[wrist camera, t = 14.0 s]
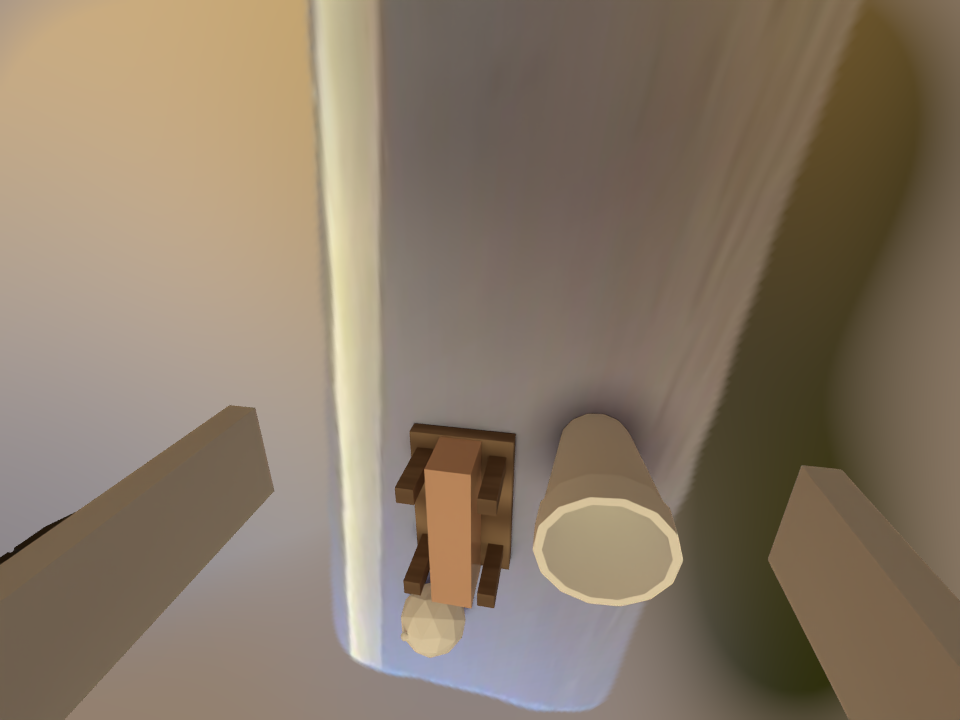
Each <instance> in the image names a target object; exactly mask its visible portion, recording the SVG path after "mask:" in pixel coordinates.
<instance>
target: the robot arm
mask: <svg viewBox="0 0 960 720" xmlns="http://www.w3.org/2000/svg"><path fill="white" fill-rule="evenodd" d="M273 492H274V488H273V483H272V479H271V475H270V470H269V466H268V462H267V457H266V453H265V449H264V444H263V440H262V435H261V431H260V427H259V422H258V418H257V414H256V409H255V408H250V407H241V406H231V405H230V406H228V407H226V408H225V409H223V410H222V411H221V412H219V413H218V414H216V415H215V416H214V417H212V418H211V419H209V420H208V421H206V422H205V423H203V424H202V425H200V426H199V427H198V428H196V429H195V430H193V431H192V432H190V433H189V434H188V435H186V436H185V437H183V438H182V439H181V440H179V441H177V442H176V443H175V444H173V445H172V446H170V447H169V448H167V449H166V450H165V451H163V452H162V453H160V454H159V455H157V456H156V457H155V458H153V459H152V460H150V461H149V462H147V463H146V464H144V465H143V466H142V467H140V468H139V469H137V470H136V471H134V472H133V473H132V474H130V475H129V476H127V477H126V478H124V479H123V480H121V481H120V482H119V483H117V484H116V485H114V486H113V487H111V488H110V489H109V490H107V491H106V492H104V493H103V494H101V495H100V496H98V497H97V498H96V499H94V500H93V501H91V502H90V503H89V504H87V505H85V506H84V507H83V508H81V509H80V510H78V511H77V512H75V513H73V514H70V515H69V516H67V517H64V518H63V519H60V520H58V521H56V522H54V523H52V524H50V525H48V526H46V527H44V528H43V529H41V530H40V531H38V532H37V533H35V534H34V535H33V536H31V537H29V538H28V539H27V540H25V541H24V542H22V543H21V544H19V545H18V546H16V547H15V548H14V551H13V552H11V553H9V552H7V553H6V554H5V555H3V556H2V557H0V720H65V718H66V717H67V716H68V715H69V714H70V713H71V712H72V711H73V710H74V709H75V708H76V706H77V705H78V704H79V703H80V702H81V701H82V700H83V699H84V698H85V697H86V696H87V694H88V693H89V692H90V691H91V690H92V689H93V688H94V687H95V686H96V685H97V683H98V682H99V681H100V680H101V679H102V678H103V677H104V676H105V675H106V674H107V673H108V671H109V670H110V669H111V668H112V667H113V666H114V665H115V664H116V663H117V662H118V661H119V660H120V658H121V657H122V656H123V655H124V654H125V653H126V652H127V650H129V649H130V647H131V646H132V645H133V644H134V643H135V642H136V641H137V640H138V639H139V638H140V637H141V636H142V634H143V633H144V632H145V631H146V630H147V629H148V628H149V627H150V626H151V625H152V624H153V622H154V621H155V620H156V619H157V618H158V617H159V616H160V615H161V614H162V613H163V612H164V610H165V609H166V608H167V607H168V606H169V605H170V604H171V603H172V602H173V601H174V599H176V597H177V596H178V595H179V594H180V593H181V592H182V591H183V590H184V589H185V588H186V586H187V585H188V584H189V583H190V582H191V581H192V580H193V579H194V578H195V577H196V575H198V573H199V572H200V571H201V570H202V569H203V568H204V567H205V566H206V565H207V563H209V561H210V560H211V559H212V558H213V557H214V556H215V555H216V554H217V553H218V551H220V549H221V548H222V547H223V546H224V545H225V544H226V543H227V542H228V541H229V539H231V537H232V536H233V535H234V534H235V533H236V532H237V531H238V530H239V529H240V528H241V527H242V525H243V524H244V523H245V522H246V521H247V520H248V519H249V518H250V517H251V516H252V515H253V513H254V512H255V511H256V510H257V509H258V508H259V507H260V506H261V505H262V504H263V503H264V501H265V500H266V499H267V498H268V497H269V496H270V495H271V494H272V493H273ZM768 561H769V563H770V565H771V567H772V569H773V570H774V572H775V575H776V577H777V579H778V580H779V582H780V585H781V586H782V588H783V590H784V592H785V594H786V596H787V598H788V600H789V602H790V604H791V606H792V608H793V610H794V612H795V614H796V616H797V618H798V620H799V622H800V624H801V626H802V628H803V630H804V632H805V634H806V636H807V638H808V640H809V642H810V644H811V646H812V648H813V650H814V652H815V654H816V656H817V658H818V660H819V662H820V663H821V665H822V667H823V669H824V671H825V673H826V675H827V677H828V679H829V681H830V683H831V685H832V687H833V689H834V691H835V693H836V695H837V697H838V699H839V701H840V703H841V705H842V707H843V709H844V711H845V713H846V715H847V717H848V719H849V720H960V601H959V599H958V598H957V597H956V596H955V595H954V594H953V593H952V592H951V591H950V589H948V587H947V586H946V585H945V584H944V583H943V582H942V581H941V579H940V578H939V577H938V576H937V575H936V574H935V573H934V572H933V571H932V569H931V568H930V567H929V566H928V565H927V564H926V563H925V562H924V561H923V559H922V558H921V557H920V556H919V555H918V554H917V553H916V552H915V551H914V550H913V548H912V547H911V546H910V545H909V544H908V543H907V542H906V541H905V540H904V538H903V537H902V536H901V535H900V534H899V533H898V532H897V531H896V530H895V528H894V527H893V526H892V525H891V524H890V523H889V522H888V521H887V520H886V518H885V517H884V516H883V515H882V514H881V513H880V512H879V511H878V510H877V509H876V507H875V506H874V505H873V504H872V503H871V502H870V501H869V500H868V499H867V498H866V496H865V495H864V494H863V493H862V492H861V491H860V490H859V489H858V488H857V486H855V484H854V483H853V482H852V481H851V480H850V479H849V478H848V477H847V475H846V474H845V473H844V472H843V471H842V470H840V469H830V468H821V467H811V466H801V469H800V471H799V474H798V477H797V480H796V482H795V485H794V488H793V491H792V494H791V496H790V499H789V502H788V505H787V508H786V510H785V513H784V516H783V519H782V522H781V524H780V527H779V530H778V533H777V535H776V538H775V541H774V544H773V547H772V549H771V552H770V555H769V558H768Z"/></svg>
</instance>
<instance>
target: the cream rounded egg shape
mask: <svg viewBox="0 0 960 720" xmlns="http://www.w3.org/2000/svg"><path fill="white" fill-rule="evenodd" d="M401 621H402V632H403V633H402V634H401V639H402V640H403V641H407V642H408V644H409V645H410V646H411V647H412V648H413V650H414V651H415V652H417V653H419V654H422V655H424V656H427V657H429V658H431V657H435V656H439V655H442V654H446V653H449V652H450V650H451V649H452V648H453V647H454V646H455V645H456V644H457V642H458V641H459V640H460V639H461V638H462V635H463V630H464V625H465V613H464V607H460V606H454V605H449V604H443V603H437V602H432V598H431V583H427V584H424V587H423V590H422V593H421V596H420V595H414V594H411V595H410V596H409V597H408V598H407V599H406V601H405V604H404V608H403V612H402V615H401Z"/></svg>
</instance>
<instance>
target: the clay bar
mask: <svg viewBox="0 0 960 720" xmlns="http://www.w3.org/2000/svg"><path fill="white" fill-rule="evenodd" d="M481 454H482V441H475V440H466V439H457V438H448V437H440V438H439V440H438V442H437V444H436V446H435V448H434V450H433V452H432V454H431V456H430V458H429V460H428V462H427V465H426V467H425V469H424V474H425V492H426V509H427V527H428V545H429V563H430V581H431V598H432V602H437V603H443V604H449V605H454V606H460V607H466V608H472V603H473V599H474V594H475V590H476V585H477V581H478V576H479V572H480V567H481V514H477V498H478V494H479V491H480V487H481Z"/></svg>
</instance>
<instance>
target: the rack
mask: <svg viewBox="0 0 960 720" xmlns="http://www.w3.org/2000/svg"><path fill="white" fill-rule="evenodd" d="M515 436H516V434H512V433H502V432H493V431H483V430H473V429H464V428H454V427H445V426H435V425H426V424H416V423H414V425H413V427H412V428H411V430H410V445H411V459H410V461H409V463H408V465H407V466H406V468H405V470H404V472H403V474H402V476H401V477H400V479H399V481H398V483H397V485H396V486H395V495H396V503H403V504H410V505H414V504H415V515H416V529H417V543H418V546H417V549H416V551H415V554H414V556H413V559H412V561H411V563H410V566H409V568H408V571H407V573H406V576H405V578H404V592H405V593H409V594H414V595H420V596H421V593H422V590H423V587H424V584H425V582H426V579H427V576H428V573H429V570H430V563H429V545H428V527H427V509H426V492H425V474H424V469H425V467H426V465H427V462H428V460H429V458H430V456H431V454H432V452H433V450H434V448H435V446H436V444H437V442H438V440H439V438H440V437H448V438H457V439H466V440H475V441H482V454H481V487H480V491H479V494H478V498H477V514H481V565H483V569H482V574H481V578H480V583H479V587H478V592H477V605H478V606H484V607H490V608H494V606H495V601H496V595H497V589H498V583H499V577H500V571H501V568H502V569H508V570H509V564H510V556H511V532H512V508H513V484H514V460H515Z"/></svg>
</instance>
